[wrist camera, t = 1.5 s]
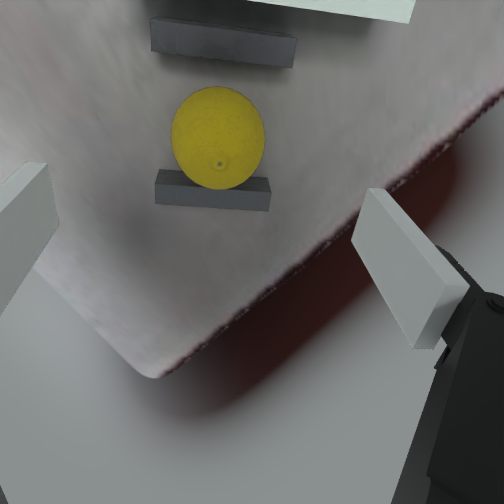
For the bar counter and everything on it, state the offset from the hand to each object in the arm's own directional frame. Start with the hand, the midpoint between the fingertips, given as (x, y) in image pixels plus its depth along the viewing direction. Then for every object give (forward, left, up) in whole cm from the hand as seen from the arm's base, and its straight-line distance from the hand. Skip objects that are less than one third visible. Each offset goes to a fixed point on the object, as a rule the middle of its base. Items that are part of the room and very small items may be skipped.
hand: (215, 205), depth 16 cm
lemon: (0, 0, -12) cm, 12 cm away
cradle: (0, 0, -12) cm, 12 cm away
